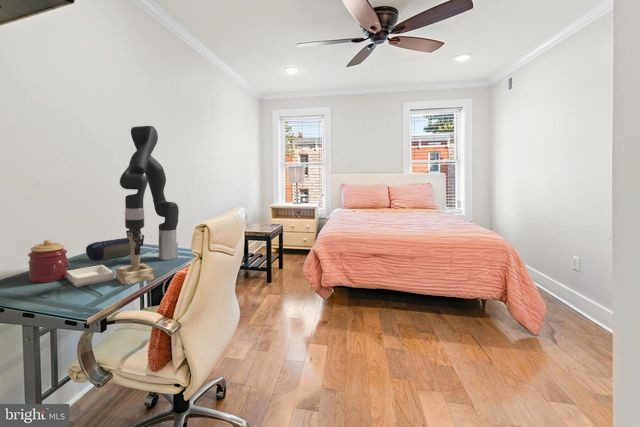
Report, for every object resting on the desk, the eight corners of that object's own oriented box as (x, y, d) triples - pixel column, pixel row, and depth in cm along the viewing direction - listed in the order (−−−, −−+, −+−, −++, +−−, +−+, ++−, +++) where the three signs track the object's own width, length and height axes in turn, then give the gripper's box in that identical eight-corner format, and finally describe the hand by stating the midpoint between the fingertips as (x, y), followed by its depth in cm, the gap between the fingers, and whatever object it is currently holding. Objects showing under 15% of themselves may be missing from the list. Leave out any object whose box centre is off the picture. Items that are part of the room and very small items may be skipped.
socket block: (143, 272, 150) (143, 263, 149) (153, 278, 143) (153, 268, 143) (115, 278, 140) (115, 268, 140) (125, 285, 134) (125, 274, 133)
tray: (102, 271, 148) (102, 264, 147) (113, 279, 139) (113, 272, 139) (66, 278, 136) (66, 270, 136) (76, 287, 128) (75, 279, 128)
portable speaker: (93, 263, 158) (92, 245, 156) (84, 259, 162) (83, 241, 161) (141, 254, 179) (141, 237, 178) (132, 251, 184) (131, 235, 183)
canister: (74, 276, 139) (72, 239, 136) (39, 285, 127) (36, 245, 125) (58, 271, 144) (56, 235, 141) (23, 279, 132) (20, 240, 130)
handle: (139, 268, 139) (139, 236, 137) (125, 267, 139) (124, 235, 137) (145, 265, 144) (144, 234, 142) (131, 264, 144) (131, 233, 141)
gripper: (150, 219, 137) (150, 255, 139) (136, 214, 145) (137, 249, 148) (132, 220, 131) (133, 258, 133) (119, 215, 139) (120, 251, 142)
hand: (135, 253), depth 140 cm, fingers closed on handle, 4 cm apart
